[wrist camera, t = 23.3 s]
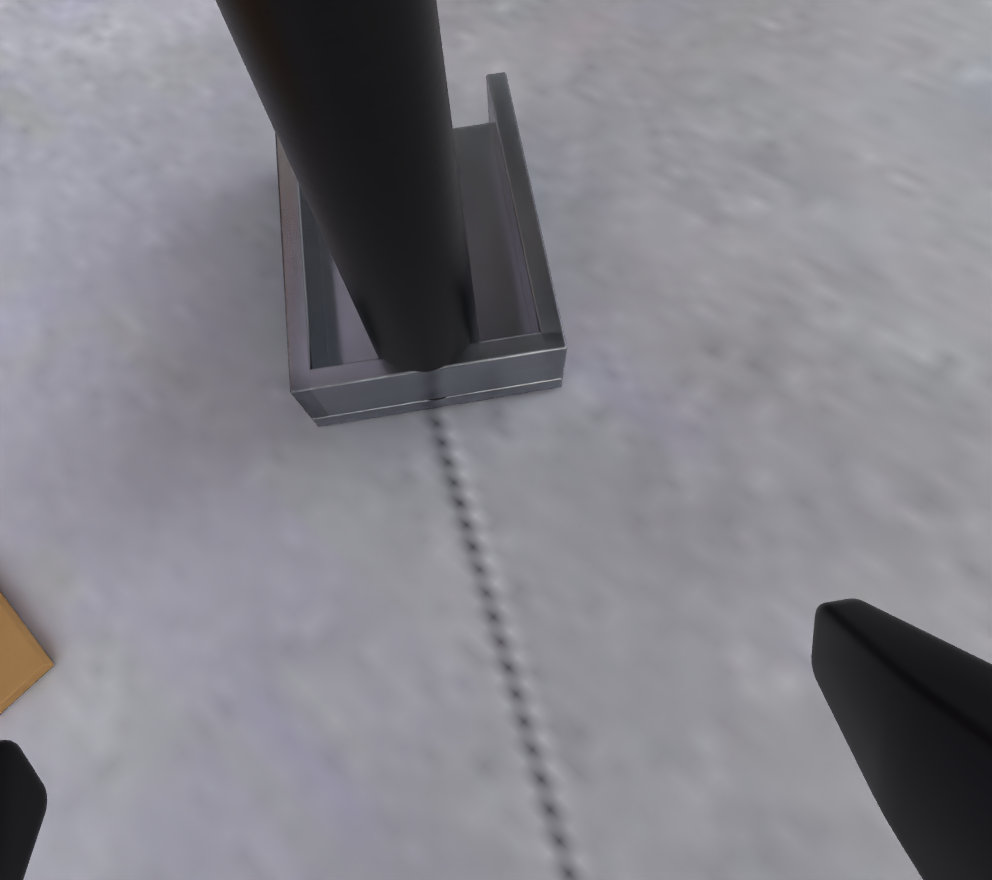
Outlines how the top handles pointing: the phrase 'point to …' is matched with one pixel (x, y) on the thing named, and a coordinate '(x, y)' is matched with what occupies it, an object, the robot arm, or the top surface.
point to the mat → (18, 656)
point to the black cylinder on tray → (396, 215)
